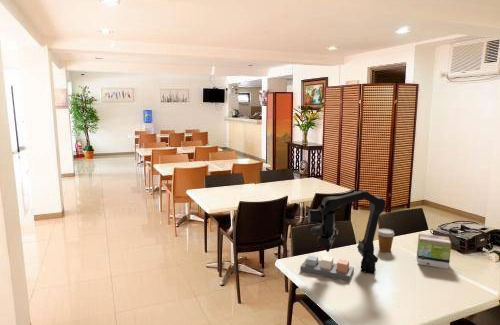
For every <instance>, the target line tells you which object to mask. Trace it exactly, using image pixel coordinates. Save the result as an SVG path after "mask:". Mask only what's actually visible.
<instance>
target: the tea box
mask: <svg viewBox="0 0 500 325" xmlns="http://www.w3.org/2000/svg"><path fill="white" fill-rule="evenodd" d="M417 240H418V241H417V247H416V248H417V249H416V261H417V265H422V266H429V267H434V268H440V269H444V270H445V269H446V270H449V268H450V267H449V266H450V262H451V261H450V260H451V252H452V250H451V249H452V242H451V240H450V237H449V236H442V235H441V236H440V235H433V234H424V233H418V238H417Z"/></svg>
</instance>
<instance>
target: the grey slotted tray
mask: <svg viewBox="0 0 500 325" xmlns="http://www.w3.org/2000/svg"><path fill="white" fill-rule="evenodd" d="M299 269H300V273H304V274H309V275H310V274H311V275H314V276H320V277H324V278H329V279H334V280H338V281H343V282H347V283H350V282H351V280H352V277H353V275H354V273H355V267H353V266H350V265H349V271H348V273H343V272H338V271H337V263H334V262H333V268H332V270H328V269H323V268H321V260H318V265H317V266H316V267H312V266H307V265H306V259H305V260H304V261H303V263H301V265H300V267H299Z"/></svg>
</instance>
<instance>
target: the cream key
mask: <svg viewBox="0 0 500 325" xmlns="http://www.w3.org/2000/svg"><path fill="white" fill-rule="evenodd" d="M320 261H321V268H323V269H328V270H332V268H333V263H334V257H331V256H330V257H329V256H327V255H326V256H325V255H324V256H323V257H322V258H321V260H320Z"/></svg>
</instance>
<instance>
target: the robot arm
mask: <svg viewBox="0 0 500 325" xmlns="http://www.w3.org/2000/svg"><path fill="white" fill-rule="evenodd" d="M361 200H362V201H363V200H366V201H367V202H368V208H369V209H368V210H369V215H368V220H367V224H366V228H365V232H364V236H363V239H362V240H359V241H358V245H357V247H356V248H357V251H358V253H359V255H361V257H362V259H361V261H360V269H361V272H362V273H363V272H364V273H367V274H372V275H373V274H375V272H376V263H378V260H379V258H378V256H376V255H375V246H374V240H375V235H376V232H377V227H378V224H379V219H380V215H381V214H382V213H383V212H384V210H385V208H386V204H387V202H386V201H385V199H384V198H382V197H380V196H378V195H373V194H371V193H369V191H368V190H365V189H360V190H358V191H353V192H351V193H347V194H344V195H337V196H335V195H334V196H325V197H323V199H322V200H321V203H320V205H319V206H318V207H317V209H313V208H312V209H308V212H307V216H306V217H307V223H309V224H319V225H317V226H313V227H312V228H310V233H311V234H312V236H315V235H319V234H320V236H318V237H317V240H316V241H317V244H320V245H324V247H325V251H326V253H329V252H330V250H331V248H332V245H333V243H334V241H335V239H336V237H335V236H334V235H337V236H338V234H339V229H338V228H337V227H336V223H335V215H339V211H337V209H339V208H340V207H342V206H344V205H346V204H349V203H354V202H357V201H361ZM321 223H322V224H321Z"/></svg>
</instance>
